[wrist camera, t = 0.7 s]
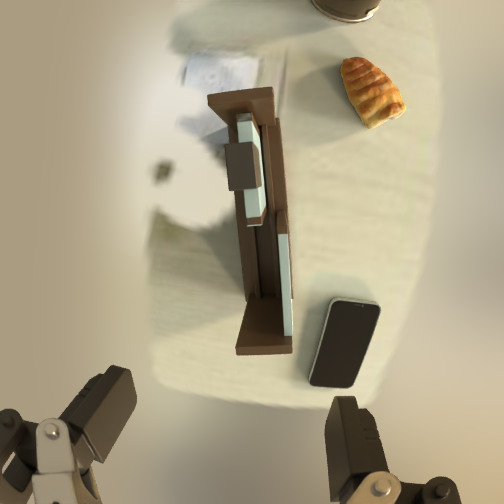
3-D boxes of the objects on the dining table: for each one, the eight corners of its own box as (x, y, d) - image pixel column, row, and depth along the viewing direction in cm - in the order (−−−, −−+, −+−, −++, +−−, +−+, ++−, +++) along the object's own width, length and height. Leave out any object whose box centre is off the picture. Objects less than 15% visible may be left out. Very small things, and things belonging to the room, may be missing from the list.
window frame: (279, 120, 32) (279, 85, 19) (292, 294, 37) (298, 353, 24) (229, 125, 32) (200, 95, 19) (246, 297, 38) (231, 355, 25)
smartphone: (306, 386, 40) (331, 298, 36) (306, 382, 41) (330, 295, 37) (352, 389, 39) (383, 304, 35) (351, 385, 40) (381, 301, 36)
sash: (262, 131, 31) (248, 94, 16) (269, 211, 33) (262, 237, 18) (246, 132, 31) (220, 98, 16) (253, 212, 33) (233, 239, 18)
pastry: (324, 72, 30) (329, 61, 26) (365, 53, 28) (374, 42, 25) (366, 134, 31) (376, 129, 27) (405, 113, 30) (418, 107, 26)
